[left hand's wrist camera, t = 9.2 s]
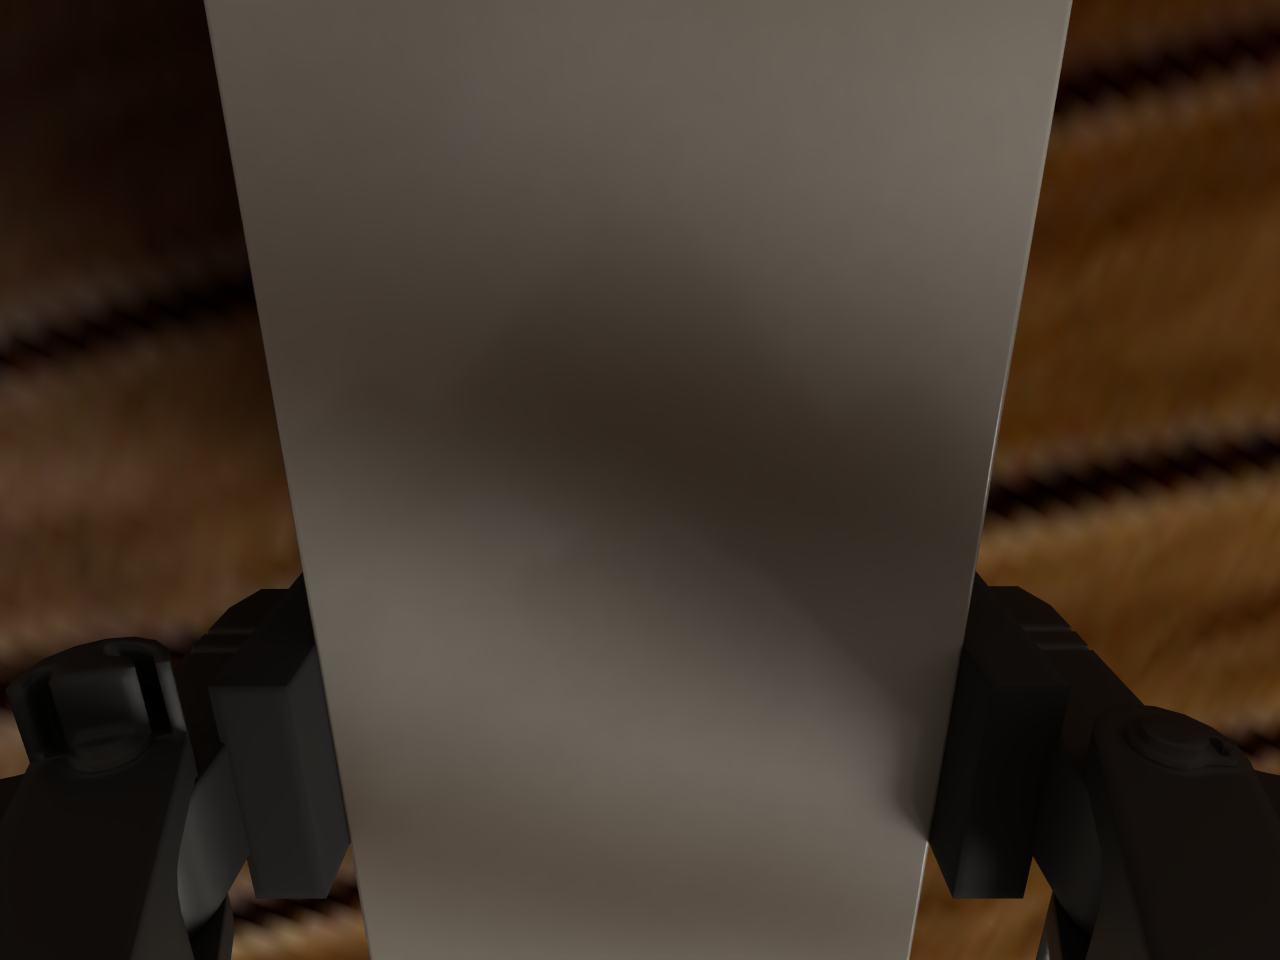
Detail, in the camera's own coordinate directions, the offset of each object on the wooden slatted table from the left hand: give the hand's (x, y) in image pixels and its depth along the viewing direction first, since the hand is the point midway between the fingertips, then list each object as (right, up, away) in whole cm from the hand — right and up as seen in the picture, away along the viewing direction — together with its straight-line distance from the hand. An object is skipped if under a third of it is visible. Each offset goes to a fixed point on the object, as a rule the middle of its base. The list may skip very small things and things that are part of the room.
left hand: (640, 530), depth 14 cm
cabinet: (0, +6, +3) cm, 6 cm away
